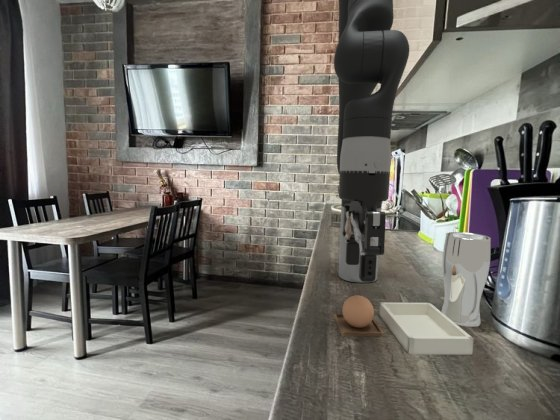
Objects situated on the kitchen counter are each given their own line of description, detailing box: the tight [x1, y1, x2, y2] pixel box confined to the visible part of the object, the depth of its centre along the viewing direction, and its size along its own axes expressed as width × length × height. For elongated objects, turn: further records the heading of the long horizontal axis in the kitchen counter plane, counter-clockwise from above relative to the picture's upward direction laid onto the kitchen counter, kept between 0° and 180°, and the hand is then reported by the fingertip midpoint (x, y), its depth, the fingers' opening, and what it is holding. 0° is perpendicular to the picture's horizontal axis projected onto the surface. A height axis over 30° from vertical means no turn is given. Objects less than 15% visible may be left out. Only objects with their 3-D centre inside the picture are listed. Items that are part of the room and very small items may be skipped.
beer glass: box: [440, 231, 492, 328], centre depth 54 cm, size 7×7×15 cm
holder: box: [332, 313, 386, 338], centre depth 51 cm, size 7×7×1 cm
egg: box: [341, 294, 375, 328], centre depth 51 cm, size 5×5×5 cm
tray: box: [378, 301, 475, 356], centre depth 49 cm, size 12×9×3 cm
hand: (358, 271), depth 50 cm, fingers open, 8 cm apart
